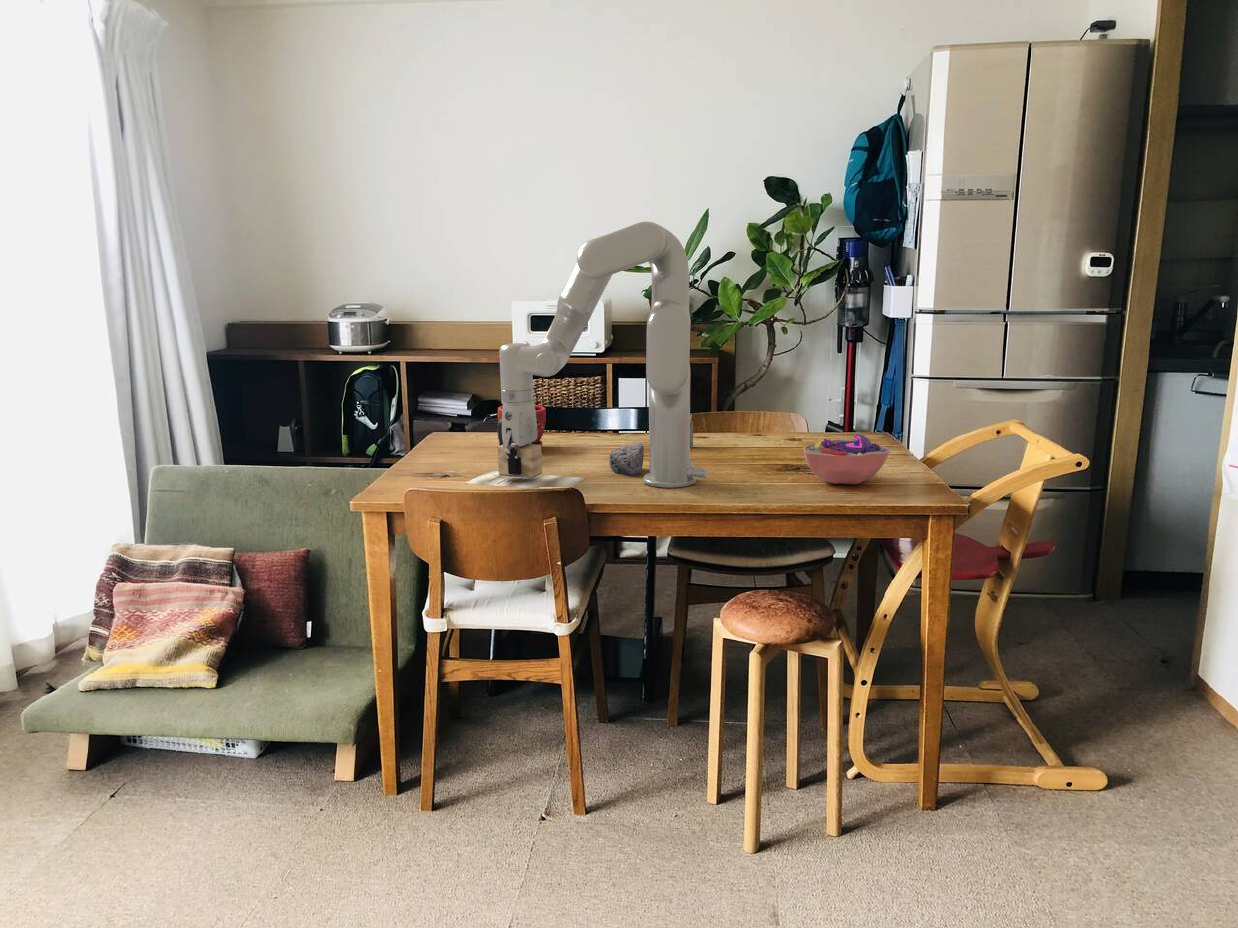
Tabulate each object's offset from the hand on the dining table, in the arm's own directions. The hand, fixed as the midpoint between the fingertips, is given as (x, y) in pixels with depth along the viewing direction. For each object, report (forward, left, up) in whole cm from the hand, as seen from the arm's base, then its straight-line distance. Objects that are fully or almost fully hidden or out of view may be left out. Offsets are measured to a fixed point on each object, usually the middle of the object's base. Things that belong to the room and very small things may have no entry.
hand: (520, 470), depth 226 cm
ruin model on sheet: (-23, -47, -3) cm, 52 cm away
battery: (+12, -18, -3) cm, 22 cm away
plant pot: (+16, -32, -3) cm, 36 cm away
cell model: (-73, -22, -3) cm, 77 cm away
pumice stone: (-21, -16, -3) cm, 27 cm away
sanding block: (0, 0, -1) cm, 1 cm away
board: (-1, 0, -3) cm, 3 cm away
